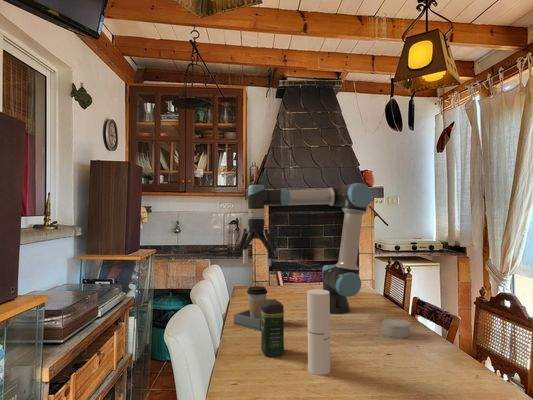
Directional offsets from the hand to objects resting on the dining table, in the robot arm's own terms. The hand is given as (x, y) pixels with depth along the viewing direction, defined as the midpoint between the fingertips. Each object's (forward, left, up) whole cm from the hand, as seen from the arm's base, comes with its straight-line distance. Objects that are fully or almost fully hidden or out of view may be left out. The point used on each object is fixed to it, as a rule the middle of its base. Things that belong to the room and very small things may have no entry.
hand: (256, 264), depth 168 cm
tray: (0, 0, -27) cm, 27 cm away
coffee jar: (-26, +23, -27) cm, 44 cm away
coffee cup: (0, 0, -26) cm, 26 cm away
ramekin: (-56, -22, -27) cm, 66 cm away
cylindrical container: (-47, +26, -27) cm, 60 cm away
